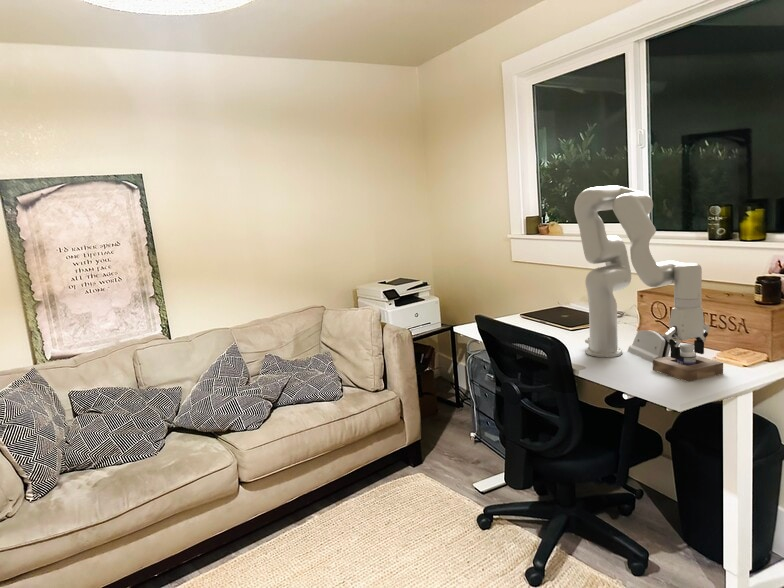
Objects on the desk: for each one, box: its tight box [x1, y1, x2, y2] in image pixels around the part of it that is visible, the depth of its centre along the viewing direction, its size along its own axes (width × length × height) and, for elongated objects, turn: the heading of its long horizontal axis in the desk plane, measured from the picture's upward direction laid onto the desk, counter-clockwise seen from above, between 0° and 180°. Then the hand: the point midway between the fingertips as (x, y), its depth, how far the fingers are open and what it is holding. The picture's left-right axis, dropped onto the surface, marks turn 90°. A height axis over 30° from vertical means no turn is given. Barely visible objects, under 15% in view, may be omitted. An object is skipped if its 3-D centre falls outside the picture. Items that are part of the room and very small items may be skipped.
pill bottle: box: [677, 342, 697, 366], centre depth 178 cm, size 5×5×9 cm
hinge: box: [627, 329, 671, 364], centre depth 198 cm, size 17×5×10 cm, turn 8°
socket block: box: [652, 354, 724, 383], centre depth 179 cm, size 14×14×4 cm
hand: (687, 355), depth 178 cm, fingers open, 9 cm apart
